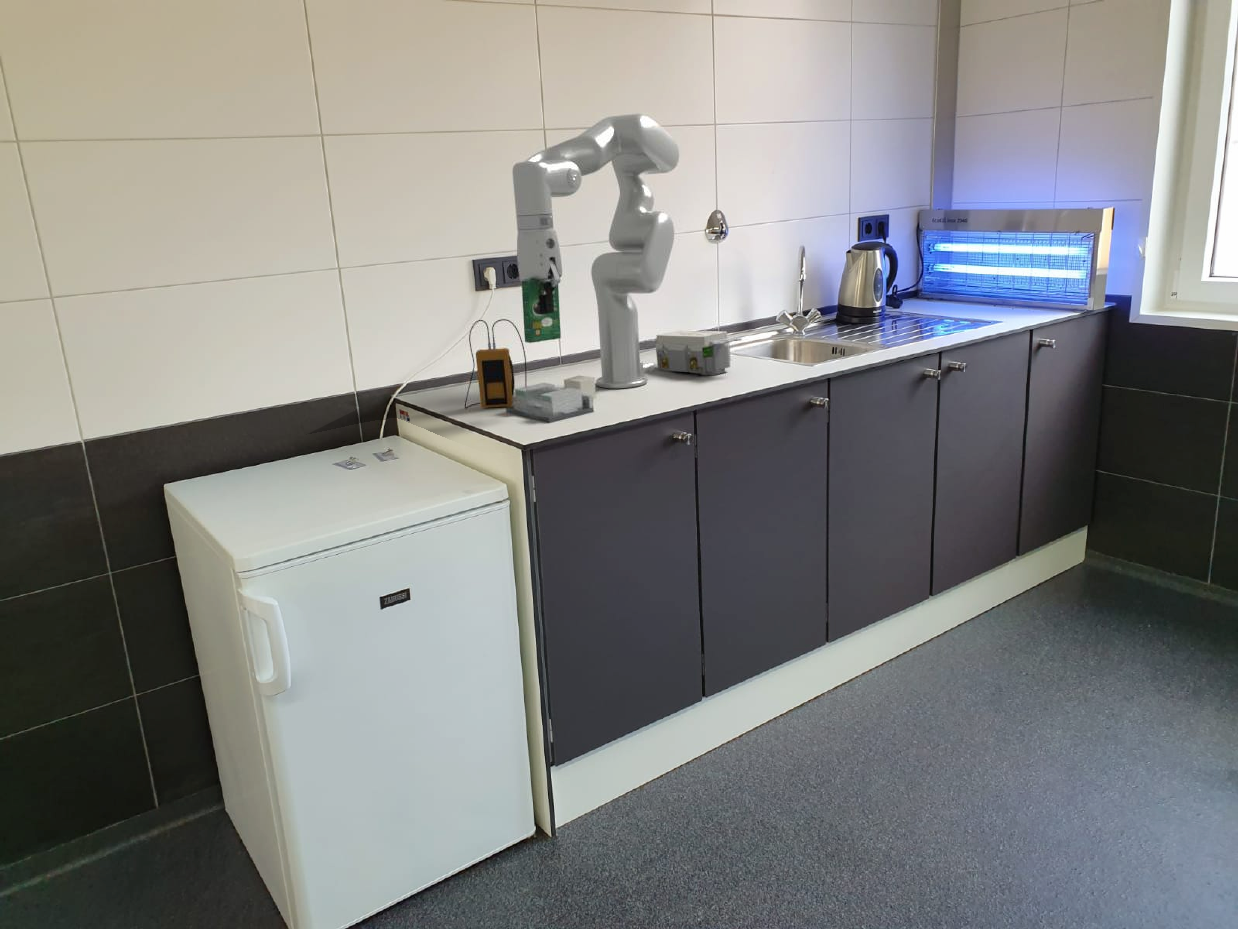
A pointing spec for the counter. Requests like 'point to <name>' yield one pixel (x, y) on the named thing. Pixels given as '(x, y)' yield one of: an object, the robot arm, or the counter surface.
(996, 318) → the counter surface
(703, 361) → the grey electrical enclosure
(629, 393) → the counter surface
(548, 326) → the coffee box
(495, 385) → the multimeter
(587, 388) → the block
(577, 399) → the rail base
